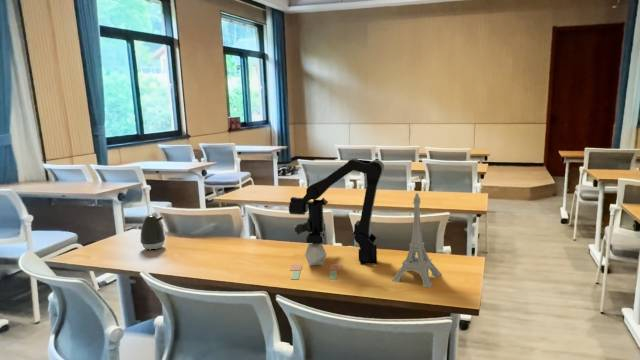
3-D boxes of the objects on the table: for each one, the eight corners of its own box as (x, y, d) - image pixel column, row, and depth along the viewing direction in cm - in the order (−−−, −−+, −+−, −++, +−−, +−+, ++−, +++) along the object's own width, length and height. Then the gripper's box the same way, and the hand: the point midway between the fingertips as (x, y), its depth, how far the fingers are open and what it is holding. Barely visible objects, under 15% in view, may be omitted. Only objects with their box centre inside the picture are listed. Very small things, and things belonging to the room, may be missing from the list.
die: (319, 271, 163) (331, 248, 165) (299, 260, 164) (311, 237, 165) (319, 270, 171) (331, 249, 173) (300, 259, 172) (312, 238, 173)
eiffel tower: (405, 268, 162) (404, 188, 157) (441, 274, 155) (442, 190, 150) (391, 281, 151) (391, 195, 146) (430, 288, 144) (430, 198, 139)
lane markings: (341, 264, 167) (341, 264, 167) (340, 279, 154) (340, 278, 154) (291, 265, 169) (291, 264, 168) (286, 279, 155) (286, 279, 155)
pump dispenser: (161, 251, 190) (158, 217, 188) (137, 252, 190) (133, 218, 188) (169, 244, 200) (166, 212, 198) (147, 245, 200) (143, 212, 198)
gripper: (298, 209, 182) (299, 245, 185) (292, 221, 164) (293, 261, 166) (325, 209, 181) (326, 245, 184) (322, 221, 163) (323, 261, 166)
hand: (316, 253), depth 175 cm, fingers closed
